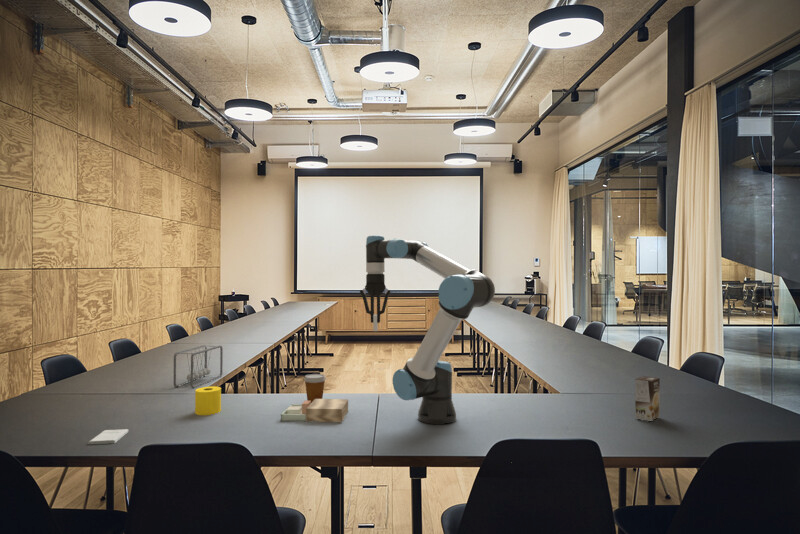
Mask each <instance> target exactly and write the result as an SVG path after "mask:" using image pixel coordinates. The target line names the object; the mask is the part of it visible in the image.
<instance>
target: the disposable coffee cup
mask: <svg viewBox="0 0 800 534" xmlns="http://www.w3.org/2000/svg"><path fill="white" fill-rule="evenodd" d="M326 379H327V378H326V376H325V374H322V373H312V374H306V375H304V378H303V380H304V383H305V392H306V393H305V394H306V398H307V399H306V401H311V403H312V402H313V401H314V399H324V398H323V396H324V389H325V388H324V387H325V383H326Z"/></svg>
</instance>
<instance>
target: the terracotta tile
mask: <svg viewBox="0 0 800 534" xmlns="http://www.w3.org/2000/svg"><path fill="white" fill-rule="evenodd" d="M310 404H311V401H307V400H304V401H303V402H302V404H301V405H302V414H304V415H306V408H307V407H308V406H309V405H310Z"/></svg>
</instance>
